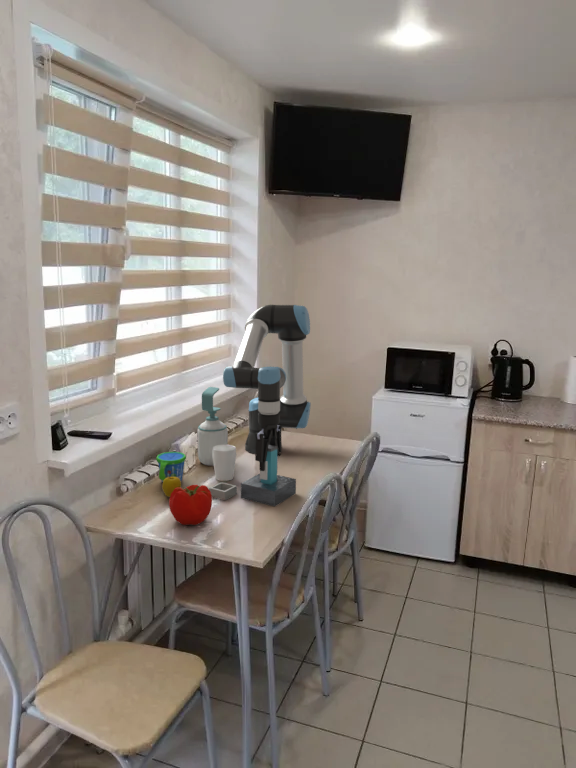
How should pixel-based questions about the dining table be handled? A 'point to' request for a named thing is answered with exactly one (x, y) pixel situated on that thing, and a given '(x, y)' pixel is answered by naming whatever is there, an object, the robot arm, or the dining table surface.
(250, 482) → the port
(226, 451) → the cup
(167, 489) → the apple
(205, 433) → the soap bottle
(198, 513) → the tomato
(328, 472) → the dining table surface
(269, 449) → the plug
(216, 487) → the holster
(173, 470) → the snack cup
